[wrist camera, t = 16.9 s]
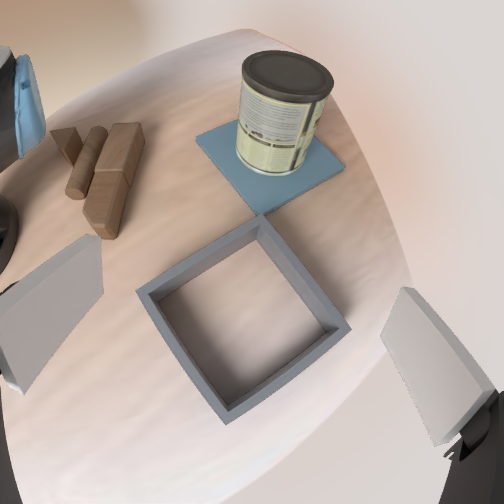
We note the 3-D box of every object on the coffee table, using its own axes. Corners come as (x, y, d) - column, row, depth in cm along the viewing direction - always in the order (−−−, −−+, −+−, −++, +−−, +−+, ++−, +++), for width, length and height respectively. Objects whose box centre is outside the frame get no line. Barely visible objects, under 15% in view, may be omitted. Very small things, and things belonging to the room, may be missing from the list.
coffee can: (236, 123, 41) (244, 45, 28) (302, 130, 42) (326, 57, 28) (232, 174, 37) (239, 89, 24) (307, 181, 38) (342, 104, 25)
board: (195, 141, 40) (195, 136, 39) (278, 108, 44) (279, 104, 44) (259, 219, 36) (260, 215, 35) (343, 170, 40) (345, 166, 40)
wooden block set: (141, 112, 35) (104, 222, 28) (147, 138, 40) (119, 242, 33) (50, 122, 33) (5, 220, 27) (62, 144, 39) (25, 237, 32)
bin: (145, 299, 31) (135, 290, 27) (257, 229, 35) (261, 213, 32) (225, 417, 27) (225, 425, 23) (337, 333, 31) (351, 329, 28)
